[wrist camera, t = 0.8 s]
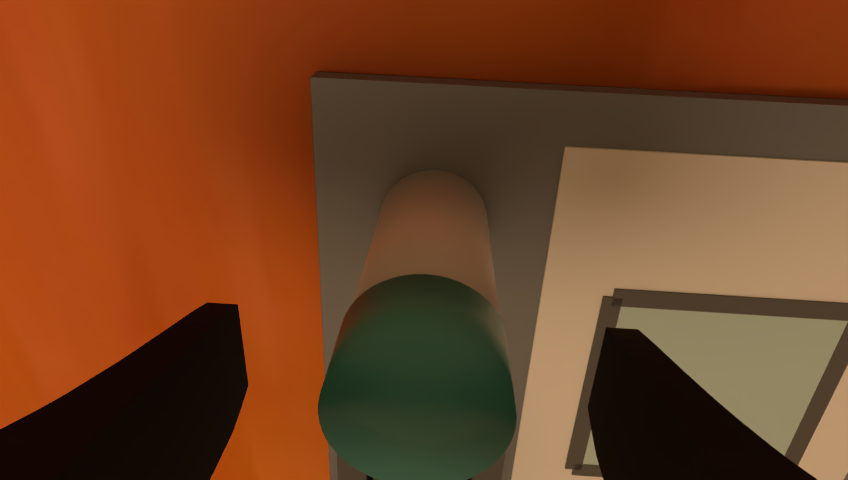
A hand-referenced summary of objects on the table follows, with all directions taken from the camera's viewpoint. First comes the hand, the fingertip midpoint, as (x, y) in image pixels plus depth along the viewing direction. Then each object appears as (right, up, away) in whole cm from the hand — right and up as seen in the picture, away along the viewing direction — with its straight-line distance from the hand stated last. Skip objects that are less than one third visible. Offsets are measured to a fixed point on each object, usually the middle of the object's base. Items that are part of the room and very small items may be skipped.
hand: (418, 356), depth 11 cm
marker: (0, +3, +6) cm, 6 cm away
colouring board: (+7, -2, +8) cm, 11 cm away
